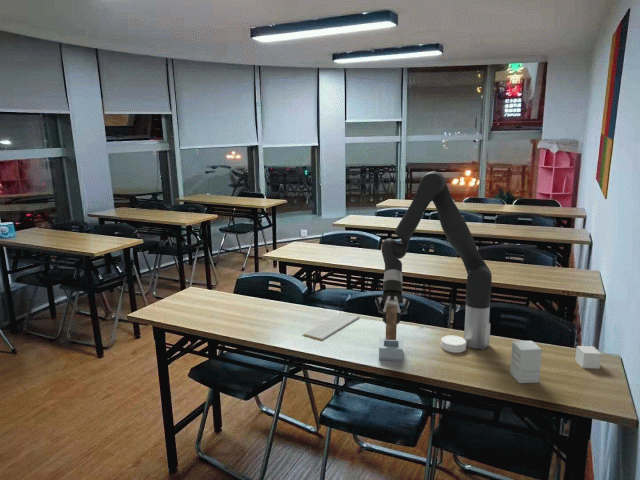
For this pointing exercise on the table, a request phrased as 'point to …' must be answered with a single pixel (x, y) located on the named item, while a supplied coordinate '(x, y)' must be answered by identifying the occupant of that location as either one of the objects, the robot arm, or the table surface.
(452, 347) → the white round disc
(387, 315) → the rail post
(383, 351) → the grey square collar
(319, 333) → the baseboard
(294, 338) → the table surface
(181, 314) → the table surface
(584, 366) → the white cube
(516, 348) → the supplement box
